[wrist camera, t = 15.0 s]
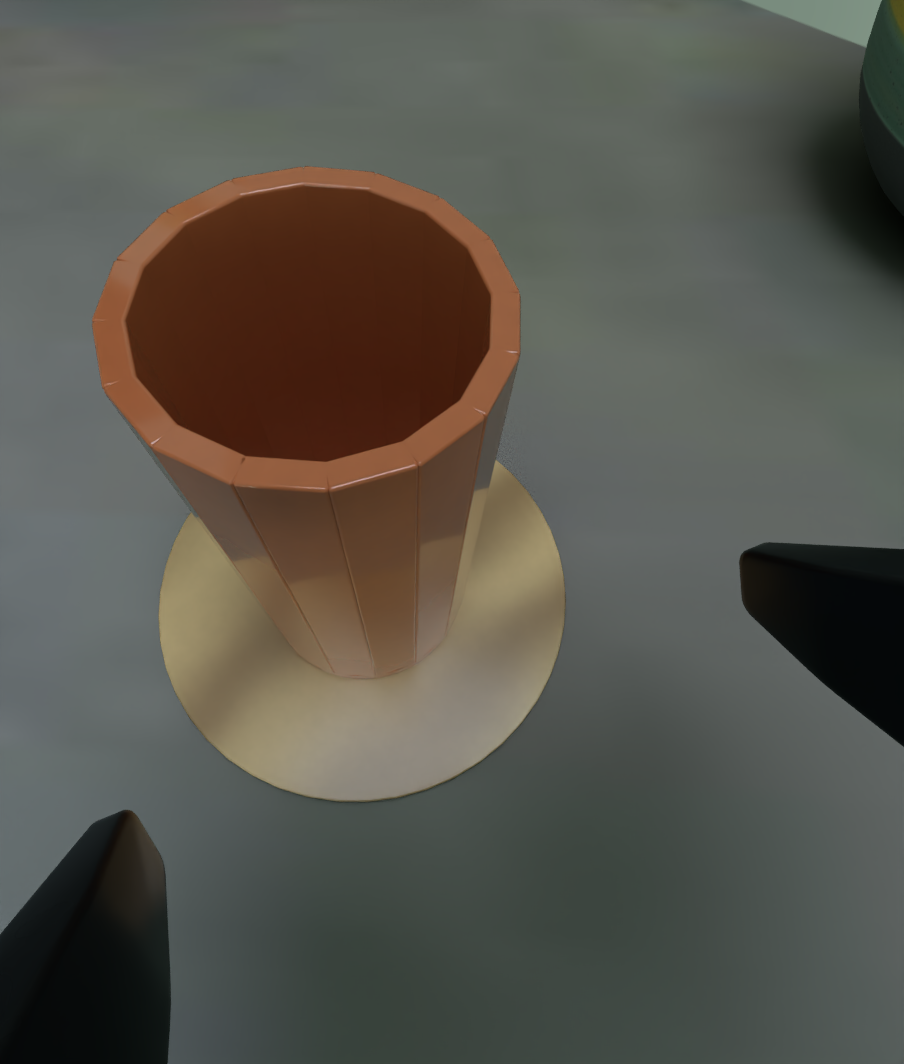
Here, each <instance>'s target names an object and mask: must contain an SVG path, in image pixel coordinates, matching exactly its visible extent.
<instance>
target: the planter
mask: <svg viewBox="0 0 904 1064" xmlns="http://www.w3.org/2000/svg"><path fill="white" fill-rule="evenodd" d="M859 109H860V123H861V129H862V135H863V140H864V145H865V148H866V152H867V155H868V158H869V161H870V164H871V167H872V169H873V171H874V174H875V176H876V178H877V180H878V182H879V184H880V186H881V188H882V189H883V191H884V192H885V194H886V196H887V197H888V198H889V200H890V201H891V202H892V203H893V205H894V206H895V207H896V209H897V210H898V211H899V212H900V213H901V214H902V215H903V216H904V0H882V2H881V4H880V7H879V10H878V12H877V15H876V19H875V22H874V25H873V28H872V31H871V34H870V37H869V40H868V44H867V48H866V52H865V57H864V61H863V65H862V70H861V77H860V90H859Z"/></svg>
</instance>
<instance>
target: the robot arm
mask: <svg viewBox="0 0 904 1064" xmlns="http://www.w3.org/2000/svg"><path fill="white" fill-rule="evenodd" d="M739 565H740V580H741V594H742V601H743V604H744V606H745V608H746V610H747V611H748V613H749V614H750V615H751V616H752V617H753V618H754V619H755V620H756V621H757V622H758V623H759V624H760V625H762V626H763V627H764V628H765V629H766V630H767V631H768V632H769V633H770V634H771V635H772V636H773V637H774V638H775V639H776V640H777V641H778V642H780V643H781V644H782V645H783V646H784V647H785V648H786V649H787V650H788V651H789V652H790V653H791V654H792V655H793V656H794V657H795V658H796V659H798V660H799V661H800V662H801V663H802V664H803V665H804V666H805V667H806V668H807V669H808V670H809V671H810V672H811V673H812V674H814V675H815V676H816V677H817V678H818V679H819V680H820V681H821V682H822V683H824V684H825V685H826V686H827V687H828V688H830V689H831V690H832V691H833V692H835V693H836V694H837V695H838V696H840V697H841V698H842V699H843V700H845V701H846V702H847V703H848V704H850V705H851V706H852V707H854V708H855V709H856V710H857V711H859V712H860V713H861V714H862V715H864V716H865V717H866V718H868V719H869V720H870V721H871V722H873V723H874V724H875V725H877V726H878V727H879V728H880V729H882V730H883V731H884V732H885V733H887V734H888V735H889V736H891V737H892V738H893V739H894V740H896V741H897V742H898V743H899V744H901V745H902V746H903V747H904V549H889V548H869V547H850V546H830V545H810V544H791V543H771V542H768V543H762V544H760V545H758V546H755V547H753V548H751V549H748V550H746V551H744V552H743V553H742V554H741V557H740V560H739ZM170 1010H171V984H170V960H169V939H168V918H167V897H166V876H165V868H164V864H163V860H162V858H161V855H160V853H159V851H158V850H157V848H156V846H155V845H154V843H153V841H152V840H151V838H150V837H149V835H148V833H147V832H146V830H145V828H144V827H143V825H142V823H141V822H140V820H139V818H138V817H137V815H136V814H135V813H133V812H132V811H130V810H123V811H120V812H118V813H115V814H113V815H111V816H108V817H106V818H103V819H101V820H99V821H96V822H95V823H93V824H92V825H91V826H90V827H89V828H88V830H87V831H86V832H85V833H84V834H83V836H82V837H81V838H80V839H79V840H78V842H77V843H76V844H75V845H74V846H73V848H72V849H71V850H70V851H69V852H68V854H67V855H66V856H65V857H64V858H63V860H62V861H61V862H60V863H59V864H58V866H57V867H56V868H55V869H54V870H53V872H52V873H51V874H50V875H49V876H48V878H47V879H46V880H45V881H44V882H43V884H42V885H41V886H40V887H39V888H38V890H37V891H36V892H35V893H34V894H33V896H32V897H31V898H30V899H29V900H28V902H27V903H26V904H25V905H24V906H23V908H22V909H21V910H20V911H19V912H18V914H17V915H16V916H15V917H14V918H13V920H12V921H11V922H10V923H9V925H8V926H7V927H6V928H5V929H4V931H3V932H2V933H1V934H0V1064H167V1063H168V1047H169V1032H170Z"/></svg>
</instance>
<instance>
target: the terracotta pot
mask: <svg viewBox="0 0 904 1064" xmlns="http://www.w3.org/2000/svg"><path fill="white" fill-rule="evenodd" d="M520 317H521V297H520V294H519V290H518V288H517V286H516V284H515V282H514V280H513V278H512V276H511V275H510V273H509V271H508V269H507V267H506V265H505V263H504V261H503V259H502V257H501V256H500V254H499V252H498V250H497V248H496V246H495V244H494V242H493V240H491V239H490V237H489V236H488V235H487V234H486V233H485V232H483V231H482V230H481V229H480V228H478V227H477V226H476V225H475V224H473V223H472V222H471V221H470V220H469V219H467V218H466V217H465V216H464V215H462V214H461V213H460V212H459V211H457V210H456V209H455V208H454V207H453V206H451V205H450V204H449V203H448V202H446V201H445V200H444V199H442V198H439V196H437V195H434V194H432V193H429V192H426V191H424V190H421V189H418V188H416V187H413V186H410V185H408V184H405V183H402V182H400V181H397V180H395V179H392V178H389V177H387V176H384V175H381V174H375V173H374V172H368V171H357V170H345V169H334V168H322V167H310V166H305V167H304V168H303V167H295V168H290V169H284V170H278V171H273V172H267V173H261V174H255V175H250V176H244V177H238V178H233V179H232V181H231V180H227V181H225V182H223V183H221V184H219V185H217V186H215V187H212V188H210V189H208V190H206V191H204V192H202V193H200V194H198V195H196V196H194V197H192V198H190V199H188V200H186V201H183V202H181V203H179V204H177V205H175V206H173V207H171V208H169V209H167V210H166V212H163V213H162V214H161V215H160V216H159V217H158V218H157V219H156V220H155V221H154V222H153V223H152V224H151V225H150V226H149V227H148V228H147V229H146V230H145V231H144V232H143V233H141V234H140V235H139V236H138V237H137V238H136V239H135V240H134V241H133V242H132V243H131V244H130V245H129V246H128V247H127V248H126V249H125V250H124V251H123V252H122V253H121V254H120V255H119V256H118V257H117V260H116V261H114V263H113V266H112V268H111V271H110V274H109V276H108V279H107V281H106V284H105V287H104V289H103V292H102V295H101V297H100V300H99V302H98V305H97V308H96V310H95V313H94V316H93V318H92V322H93V323H92V329H93V335H94V341H95V348H96V354H97V360H98V366H99V372H100V378H101V384H102V388H103V389H104V392H105V394H106V396H107V397H108V398H109V400H110V401H111V403H112V404H113V405H114V407H115V408H116V409H117V411H118V412H119V414H120V415H121V416H122V418H123V419H124V420H125V422H126V423H127V424H128V426H129V427H130V429H131V430H132V431H133V433H134V434H135V435H136V437H137V438H138V440H139V441H140V442H141V444H142V445H143V446H144V448H145V449H146V451H147V452H148V453H149V455H150V456H151V457H152V459H153V460H154V462H155V463H156V464H157V466H158V467H159V468H160V470H161V471H162V473H163V474H164V475H165V477H166V478H167V479H168V481H169V482H170V484H171V485H172V486H173V488H174V489H175V490H176V492H177V493H178V495H179V496H180V497H181V499H182V500H183V501H184V503H185V504H186V506H187V507H188V508H189V510H190V511H191V512H192V514H193V515H194V517H195V518H196V519H197V521H198V522H199V523H200V525H201V526H202V528H203V529H204V530H205V532H206V533H207V534H208V536H209V537H210V539H211V540H212V541H213V543H214V544H215V545H216V547H217V548H218V550H219V551H220V552H221V554H222V555H223V556H224V558H225V559H226V560H227V562H228V563H229V565H230V566H231V567H232V569H233V570H234V571H235V573H236V574H237V576H238V577H239V578H240V580H241V581H242V582H243V584H244V585H245V587H246V588H247V589H248V591H249V592H250V593H251V595H252V596H253V598H254V599H255V600H256V602H257V603H258V604H259V606H260V607H261V609H262V610H263V611H264V613H265V614H266V615H267V617H268V618H269V620H270V621H271V622H272V624H273V625H274V626H275V628H276V629H277V630H278V631H279V633H280V634H281V635H282V636H283V638H284V639H285V640H286V641H287V643H288V644H289V646H290V647H291V648H292V649H293V650H294V651H295V652H296V654H297V655H299V656H300V657H301V658H303V659H304V660H305V661H307V662H308V663H310V664H311V665H313V666H315V667H316V668H318V669H320V670H323V671H325V672H327V673H330V674H333V675H337V676H340V677H345V678H353V679H374V678H381V677H386V676H389V675H393V674H397V673H399V672H401V671H404V670H406V669H409V668H410V667H412V666H414V665H416V664H417V663H419V662H421V661H422V660H423V659H424V658H426V657H427V656H428V655H430V654H431V653H432V652H433V651H434V650H435V649H436V648H437V647H438V646H439V645H440V643H441V642H442V641H443V640H444V638H445V637H446V636H447V634H448V632H449V631H450V629H451V627H452V625H453V623H454V621H455V619H456V616H457V614H458V611H459V608H460V606H461V604H462V601H463V597H464V593H465V588H466V584H467V580H468V575H469V571H470V567H471V563H472V558H473V554H474V550H475V546H476V541H477V537H478V533H479V529H480V524H481V520H482V516H483V511H484V507H485V503H486V499H487V494H488V490H489V486H490V482H491V477H492V473H493V469H494V464H495V460H496V456H497V452H498V447H499V443H500V439H501V435H502V430H503V426H504V422H505V418H506V413H507V409H508V405H509V400H510V396H511V392H512V388H513V383H514V379H515V375H516V371H517V366H518V362H519V358H520Z"/></svg>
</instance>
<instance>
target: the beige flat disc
mask: <svg viewBox="0 0 904 1064" xmlns="http://www.w3.org/2000/svg"><path fill="white" fill-rule="evenodd" d="M565 604H566V599H565V585H564V575H563V570H562V566H561V561H560V556H559V552H558V549H557V547H556V544H555V541H554V538H553V535H552V532H551V530H550V528H549V526H548V524H547V522H546V520H545V518H544V516H543V514H542V512H541V510H540V509H539V508H538V506H537V505H536V503H535V502H534V500H533V499H532V497H531V496H530V494H529V493H528V491H527V490H526V489H525V488H524V487H523V486H522V485H521V483H520V482H519V481H518V480H517V479H516V478H515V477H514V476H513V474H512V473H510V472H509V471H508V470H507V469H506V468H505V467H504V466H502V465H501V464H500V463H499V462H498V461H497V460H495V464H494V469H493V473H492V477H491V482H490V486H489V490H488V494H487V499H486V503H485V507H484V511H483V516H482V520H481V524H480V529H479V533H478V537H477V541H476V546H475V550H474V554H473V558H472V563H471V567H470V571H469V575H468V580H467V584H466V588H465V593H464V597H463V601H462V604H461V606H460V608H459V611H458V614H457V616H456V619H455V621H454V623H453V625H452V627H451V629H450V631H449V632H448V634H447V636H446V637H445V638H444V640H443V641H442V642H441V643H440V645H439V646H438V647H437V648H436V649H435V650H434V651H433V652H432V653H431V654H430V655H428V656H427V657H426V658H424V659H423V660H422V661H421V662H419V663H417V664H416V665H414V666H412V667H410V668H409V669H406V670H404V671H401V672H399V673H397V674H393V675H389V676H386V677H381V678H374V679H353V678H345V677H340V676H337V675H333V674H330V673H327V672H325V671H323V670H320V669H318V668H316V667H315V666H313V665H311V664H310V663H308V662H307V661H305V660H304V659H303V658H301V657H300V656H299V655H297V654H296V652H295V651H294V650H293V649H292V648H291V647H290V646H289V644H288V643H287V641H286V640H285V639H284V638H283V636H282V635H281V634H280V633H279V631H278V630H277V629H276V628H275V626H274V625H273V624H272V622H271V621H270V620H269V618H268V617H267V615H266V614H265V613H264V611H263V610H262V609H261V607H260V606H259V604H258V603H257V602H256V600H255V599H254V598H253V596H252V595H251V593H250V592H249V591H248V589H247V588H246V587H245V585H244V584H243V582H242V581H241V580H240V578H239V577H238V576H237V574H236V573H235V571H234V570H233V569H232V567H231V566H230V565H229V563H228V562H227V560H226V559H225V558H224V556H223V555H222V554H221V552H220V551H219V550H218V548H217V547H216V545H215V544H214V543H213V541H212V540H211V539H210V537H209V536H208V534H207V533H206V532H205V530H204V529H203V528H202V526H201V525H200V523H199V522H198V521H197V519H196V518H195V517H194V515H193V514H192V512H191V513H190V514H189V516H188V517H187V519H186V520H185V522H184V524H183V526H182V528H181V530H180V532H179V534H178V536H177V538H176V540H175V542H174V544H173V547H172V550H171V553H170V556H169V558H168V561H167V564H166V567H165V572H164V577H163V581H162V586H161V591H160V604H159V630H160V643H161V648H162V652H163V657H164V661H165V666H166V670H167V672H168V675H169V678H170V680H171V683H172V685H173V688H174V691H175V693H176V695H177V697H178V699H179V700H180V702H181V704H182V706H183V707H184V709H185V711H186V713H187V714H188V716H189V718H190V719H191V720H192V722H193V723H194V724H195V725H196V727H197V728H198V729H199V730H200V732H201V733H202V734H203V736H204V737H205V738H206V739H207V740H208V741H209V742H210V743H211V744H212V745H213V746H214V747H215V748H216V749H217V750H218V751H220V752H221V753H222V754H223V755H224V756H225V757H226V758H227V759H228V760H230V761H231V762H233V763H234V764H236V765H237V766H239V767H240V768H242V769H243V770H245V771H246V772H248V773H249V774H251V775H252V776H254V777H256V778H258V779H260V780H263V781H265V782H267V783H269V784H271V785H273V786H275V787H277V788H280V789H283V790H286V791H290V792H293V793H296V794H299V795H303V796H306V797H311V798H317V799H324V800H330V801H337V802H372V801H379V800H387V799H394V798H400V797H403V796H407V795H411V794H414V793H418V792H421V791H425V790H428V789H430V788H433V787H435V786H437V785H439V784H442V783H444V782H446V781H449V780H451V779H453V778H455V777H457V776H458V775H460V774H462V773H463V772H465V771H467V770H468V769H470V768H472V767H473V766H475V765H477V764H478V763H480V762H481V761H482V760H483V759H485V758H486V757H487V756H488V755H489V754H491V753H492V752H493V751H494V750H496V749H497V748H498V747H499V746H500V745H502V744H503V743H504V742H505V741H506V740H507V738H508V737H509V736H510V735H511V734H512V733H513V732H514V731H515V730H516V729H517V728H518V727H519V726H520V725H521V723H522V722H523V721H524V719H525V718H526V716H527V715H528V714H529V712H530V711H531V709H532V708H533V707H534V705H535V704H536V702H537V701H538V699H539V697H540V695H541V693H542V691H543V689H544V687H545V685H546V684H547V682H548V680H549V678H550V675H551V673H552V670H553V667H554V664H555V661H556V658H557V656H558V653H559V649H560V644H561V639H562V634H563V629H564V620H565Z"/></svg>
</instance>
